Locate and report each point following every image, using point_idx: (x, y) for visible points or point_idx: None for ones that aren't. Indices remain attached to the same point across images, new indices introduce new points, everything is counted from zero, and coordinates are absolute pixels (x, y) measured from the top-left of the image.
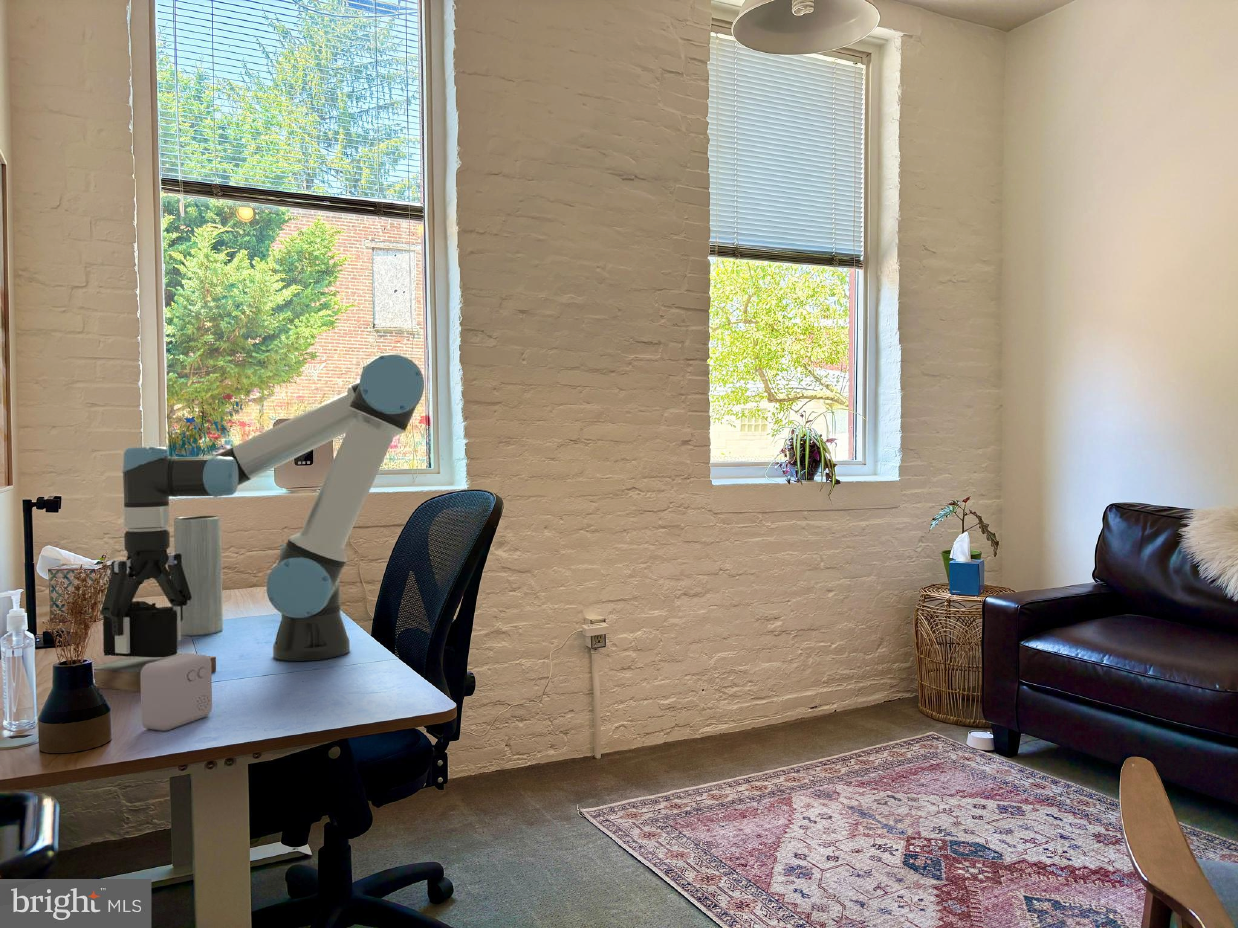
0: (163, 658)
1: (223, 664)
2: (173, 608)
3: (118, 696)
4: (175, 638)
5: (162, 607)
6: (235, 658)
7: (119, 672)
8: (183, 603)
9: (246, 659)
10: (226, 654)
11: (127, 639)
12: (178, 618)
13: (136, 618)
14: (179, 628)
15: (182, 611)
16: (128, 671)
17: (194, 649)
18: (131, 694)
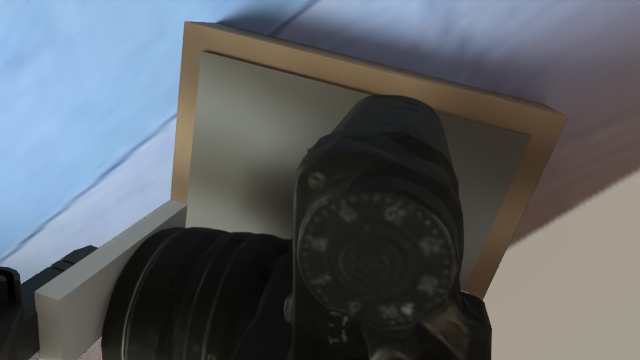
0: (261, 215)
1: (127, 56)
2: (70, 320)
3: (596, 181)
4: (373, 108)
5: (373, 289)
6: (49, 63)
7: (475, 268)
8: (2, 286)
9: (48, 10)
10: (20, 129)
11: None
12: (111, 254)
13: None
14: (143, 225)
15: (38, 273)
16: (480, 236)
17: (10, 258)
18: (569, 149)
